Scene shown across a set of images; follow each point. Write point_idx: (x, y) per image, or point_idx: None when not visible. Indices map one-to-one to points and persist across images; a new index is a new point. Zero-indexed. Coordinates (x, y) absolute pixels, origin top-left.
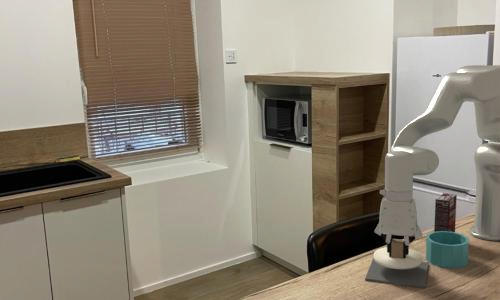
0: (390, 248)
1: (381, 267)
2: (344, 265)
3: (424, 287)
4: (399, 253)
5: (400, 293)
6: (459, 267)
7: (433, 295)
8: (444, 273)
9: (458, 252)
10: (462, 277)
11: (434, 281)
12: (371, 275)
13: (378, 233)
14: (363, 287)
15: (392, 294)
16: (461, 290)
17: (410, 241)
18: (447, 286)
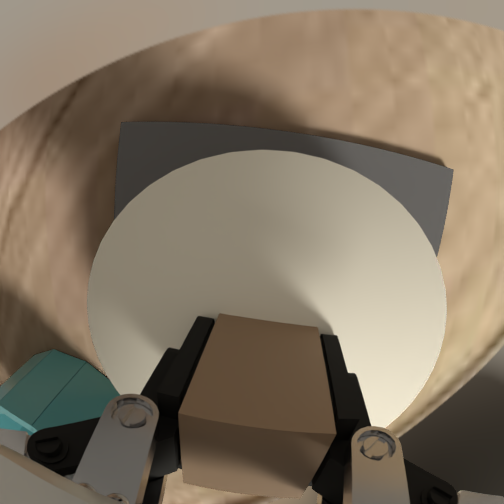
0: (336, 382)
1: None
2: (500, 322)
3: (126, 122)
4: (243, 341)
5: (255, 36)
6: (38, 354)
7: (100, 68)
8: (64, 307)
9: (5, 386)
10: (16, 276)
11: (87, 218)
12: (422, 210)
13: (477, 501)
14: (447, 87)
15: (298, 20)
16: (13, 159)
17: (92, 429)
18: (45, 179)
